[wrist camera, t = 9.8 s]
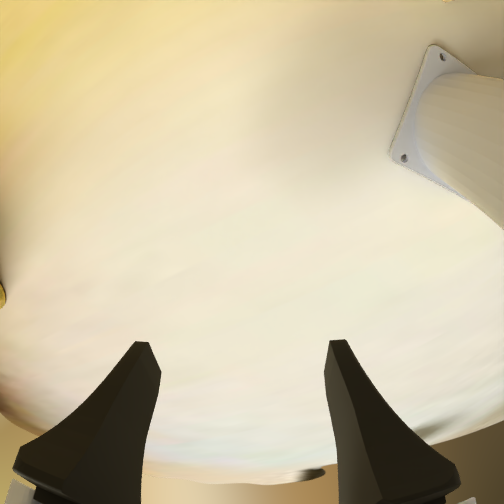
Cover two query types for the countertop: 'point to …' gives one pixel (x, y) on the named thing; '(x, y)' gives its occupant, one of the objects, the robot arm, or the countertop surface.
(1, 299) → the vase
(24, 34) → the countertop surface
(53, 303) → the countertop surface
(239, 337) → the countertop surface
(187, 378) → the countertop surface
